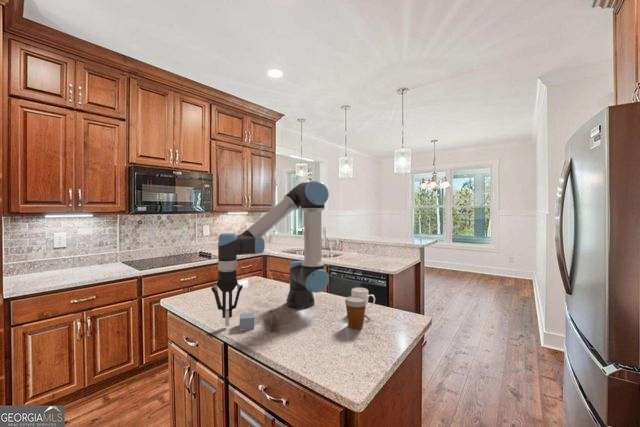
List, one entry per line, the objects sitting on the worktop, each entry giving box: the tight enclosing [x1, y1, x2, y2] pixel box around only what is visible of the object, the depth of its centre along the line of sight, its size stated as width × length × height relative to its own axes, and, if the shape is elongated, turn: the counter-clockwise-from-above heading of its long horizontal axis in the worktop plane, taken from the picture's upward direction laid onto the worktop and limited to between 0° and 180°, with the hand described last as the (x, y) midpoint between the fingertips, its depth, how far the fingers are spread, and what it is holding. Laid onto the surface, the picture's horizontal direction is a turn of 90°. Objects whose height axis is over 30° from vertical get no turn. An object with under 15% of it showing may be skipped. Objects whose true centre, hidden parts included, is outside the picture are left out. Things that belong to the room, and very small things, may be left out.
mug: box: [350, 287, 376, 311], centre depth 141 cm, size 12×8×11 cm
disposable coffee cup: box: [344, 295, 368, 330], centre depth 125 cm, size 10×10×12 cm
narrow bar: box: [268, 309, 279, 333], centre depth 126 cm, size 3×16×4 cm, turn 13°
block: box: [238, 312, 255, 331], centre depth 124 cm, size 6×6×5 cm
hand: (227, 325), depth 122 cm, fingers closed
